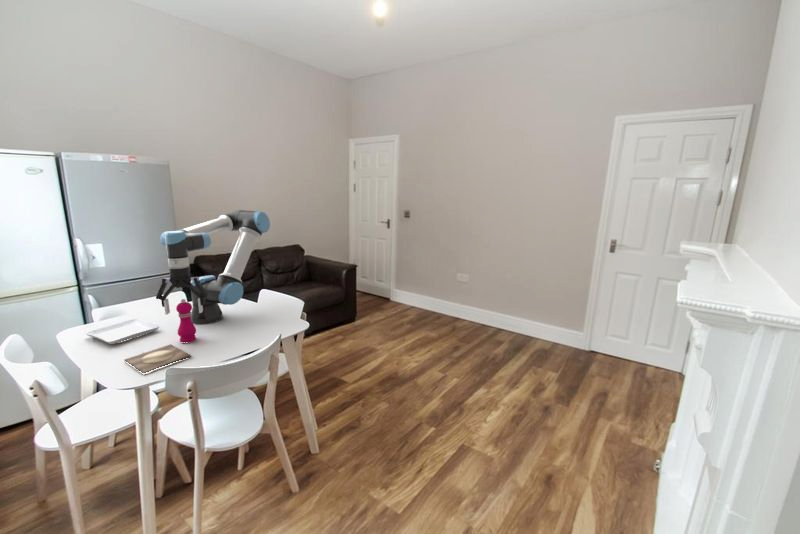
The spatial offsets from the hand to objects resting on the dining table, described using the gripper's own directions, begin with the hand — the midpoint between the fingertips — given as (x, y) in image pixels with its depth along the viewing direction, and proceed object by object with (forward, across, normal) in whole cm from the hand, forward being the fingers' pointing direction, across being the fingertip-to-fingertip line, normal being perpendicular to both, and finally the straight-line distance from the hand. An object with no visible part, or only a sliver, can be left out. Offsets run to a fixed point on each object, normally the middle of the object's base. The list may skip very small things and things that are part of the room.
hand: (184, 312), depth 156 cm
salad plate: (+14, -31, +11) cm, 36 cm away
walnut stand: (+14, -5, -18) cm, 23 cm away
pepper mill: (+14, 0, 0) cm, 14 cm away
